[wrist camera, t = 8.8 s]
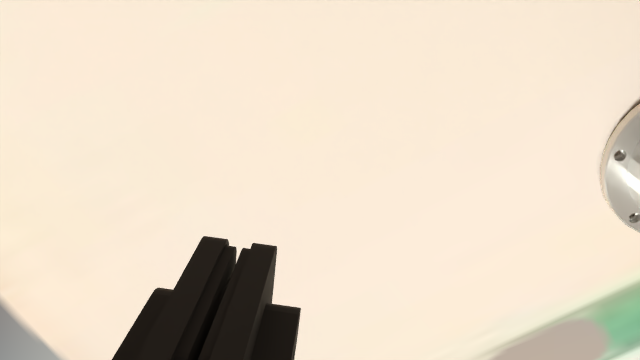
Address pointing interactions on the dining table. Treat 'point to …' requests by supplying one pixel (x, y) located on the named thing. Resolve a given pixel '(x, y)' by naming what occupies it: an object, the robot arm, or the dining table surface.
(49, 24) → the dining table surface
